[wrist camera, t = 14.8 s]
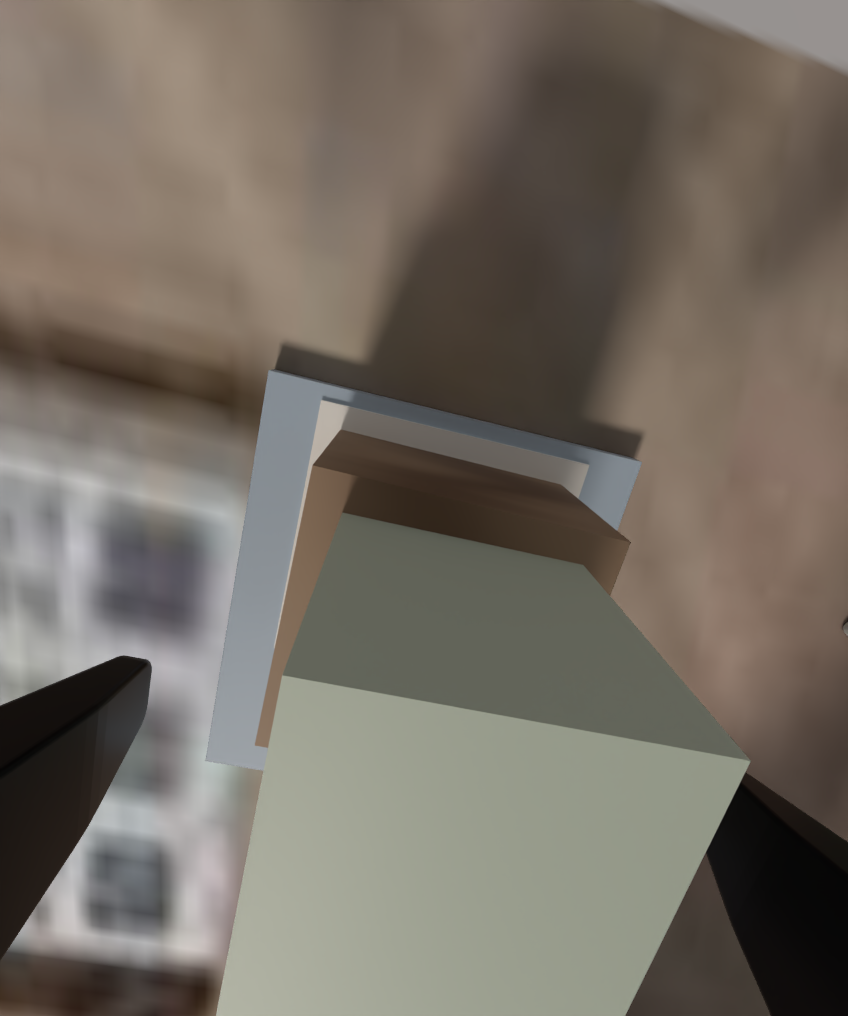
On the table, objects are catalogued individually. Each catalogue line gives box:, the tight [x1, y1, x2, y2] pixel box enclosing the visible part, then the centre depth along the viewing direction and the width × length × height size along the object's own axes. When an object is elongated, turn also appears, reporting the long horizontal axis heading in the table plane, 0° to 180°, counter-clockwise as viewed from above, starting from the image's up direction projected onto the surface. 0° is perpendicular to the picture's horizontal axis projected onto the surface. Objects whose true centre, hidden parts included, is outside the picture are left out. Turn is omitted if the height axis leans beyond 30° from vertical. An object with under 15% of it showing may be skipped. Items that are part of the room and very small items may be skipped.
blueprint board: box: [206, 369, 642, 771], centre depth 16 cm, size 10×12×1 cm
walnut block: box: [255, 429, 631, 748], centre depth 13 cm, size 6×6×4 cm
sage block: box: [216, 513, 751, 1016], centre depth 8 cm, size 5×5×5 cm
